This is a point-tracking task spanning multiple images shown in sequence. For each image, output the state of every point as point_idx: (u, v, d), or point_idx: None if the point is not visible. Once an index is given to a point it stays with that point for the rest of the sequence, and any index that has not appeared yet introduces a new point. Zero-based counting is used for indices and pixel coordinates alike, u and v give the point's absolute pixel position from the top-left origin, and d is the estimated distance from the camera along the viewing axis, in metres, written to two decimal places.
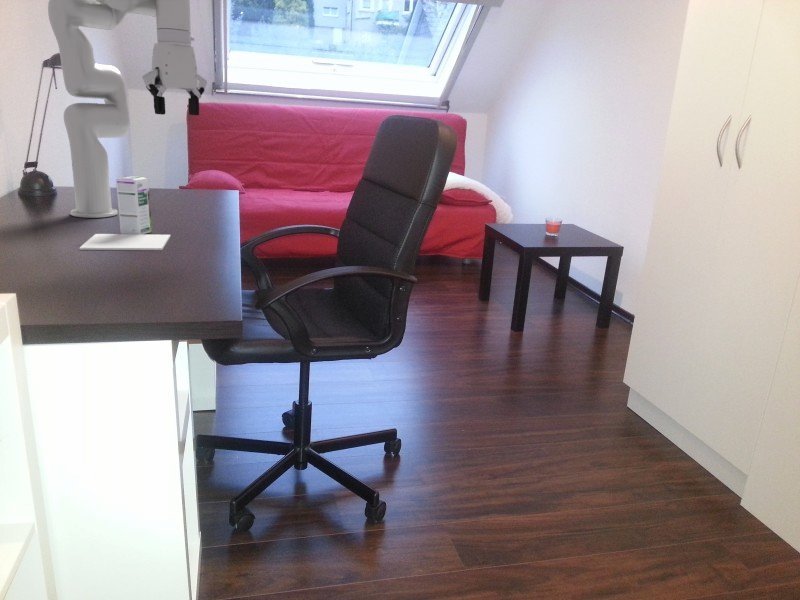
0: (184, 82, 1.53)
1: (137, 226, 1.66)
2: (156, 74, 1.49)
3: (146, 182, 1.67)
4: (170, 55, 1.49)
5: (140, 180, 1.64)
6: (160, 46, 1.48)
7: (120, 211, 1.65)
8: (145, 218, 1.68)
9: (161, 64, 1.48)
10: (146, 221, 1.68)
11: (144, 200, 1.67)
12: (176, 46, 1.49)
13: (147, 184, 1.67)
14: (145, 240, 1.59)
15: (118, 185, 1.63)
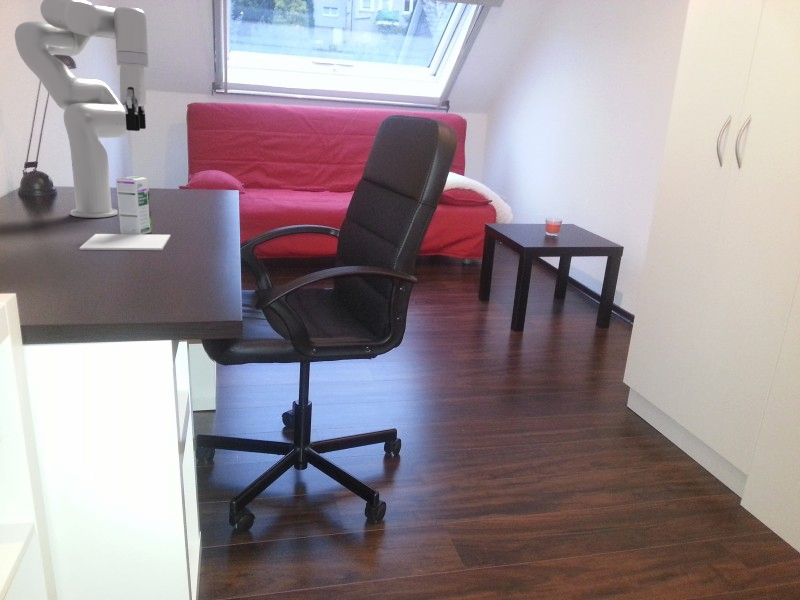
0: (144, 99, 1.69)
1: (137, 226, 1.66)
2: (133, 94, 1.63)
3: (146, 182, 1.67)
4: (141, 76, 1.64)
5: (140, 180, 1.64)
6: (132, 68, 1.62)
7: (120, 211, 1.65)
8: (145, 218, 1.68)
9: (136, 85, 1.63)
10: (146, 221, 1.68)
11: (144, 200, 1.67)
12: (142, 68, 1.65)
13: (147, 184, 1.67)
14: (145, 240, 1.59)
15: (118, 185, 1.63)
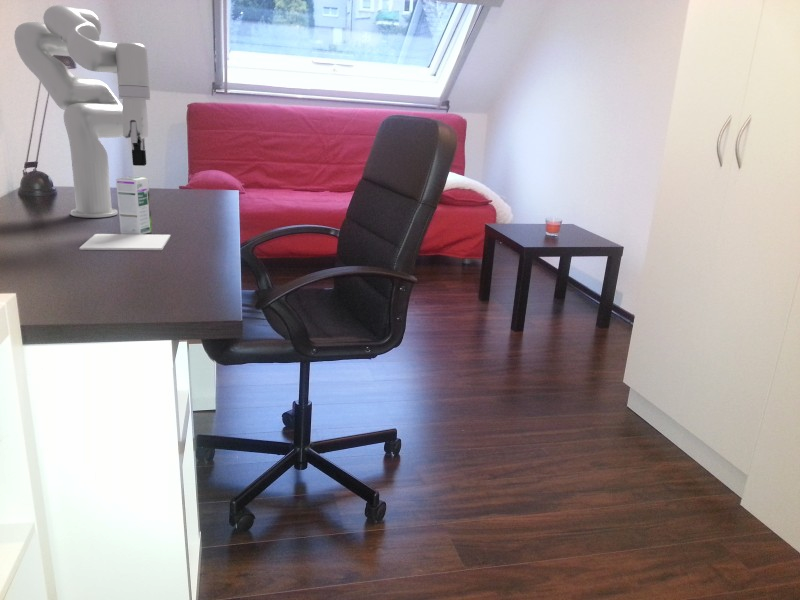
0: (146, 131, 1.72)
1: (137, 226, 1.66)
2: (137, 131, 1.67)
3: (146, 182, 1.67)
4: (143, 109, 1.67)
5: (140, 180, 1.64)
6: (134, 101, 1.64)
7: (120, 211, 1.65)
8: (145, 218, 1.68)
9: (139, 118, 1.65)
10: (146, 221, 1.68)
11: (144, 200, 1.67)
12: (144, 101, 1.68)
13: (147, 184, 1.67)
14: (145, 240, 1.59)
15: (118, 185, 1.63)
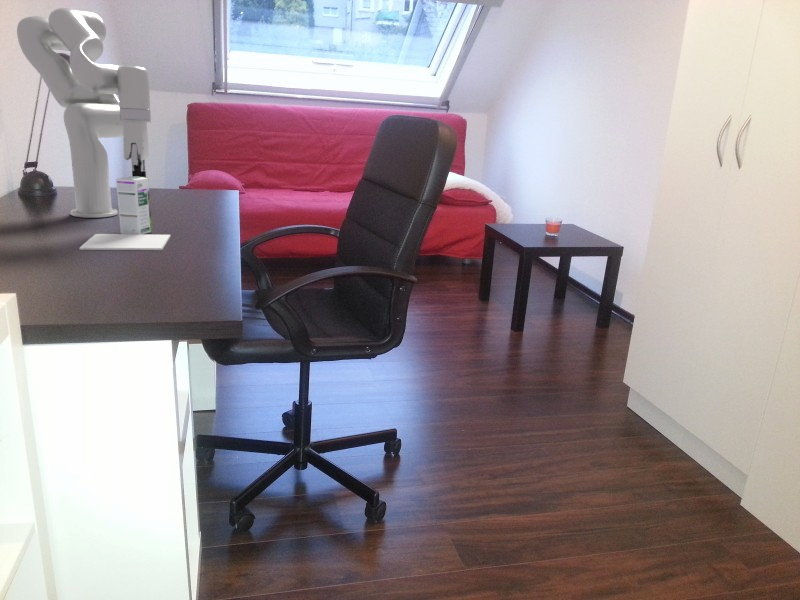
0: (146, 153, 1.73)
1: (137, 226, 1.66)
2: (137, 153, 1.69)
3: (146, 182, 1.67)
4: (143, 132, 1.69)
5: (140, 180, 1.64)
6: (135, 124, 1.66)
7: (120, 211, 1.65)
8: (145, 218, 1.68)
9: (139, 141, 1.67)
10: (146, 221, 1.68)
11: (144, 200, 1.67)
12: (145, 123, 1.69)
13: (147, 184, 1.67)
14: (145, 240, 1.59)
15: (118, 185, 1.63)
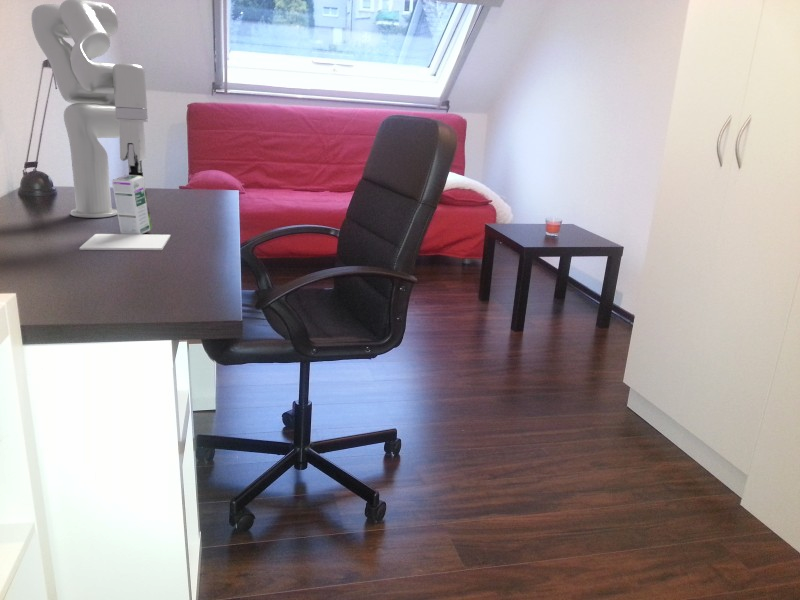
0: (144, 153, 1.68)
1: (136, 226, 1.65)
2: (134, 154, 1.64)
3: (143, 180, 1.65)
4: (140, 131, 1.63)
5: (136, 180, 1.63)
6: (132, 124, 1.61)
7: (118, 212, 1.65)
8: (144, 218, 1.67)
9: (136, 141, 1.62)
10: (145, 220, 1.68)
11: (142, 199, 1.65)
12: (141, 123, 1.64)
13: (143, 183, 1.66)
14: (145, 240, 1.59)
15: (114, 186, 1.62)
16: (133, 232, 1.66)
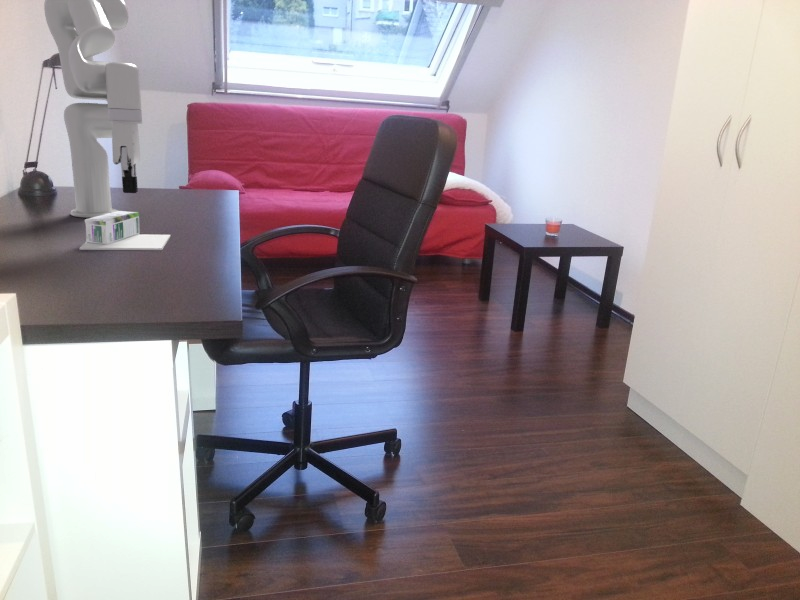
0: (138, 157, 1.60)
1: None
2: (127, 157, 1.56)
3: (108, 224, 1.52)
4: (134, 134, 1.55)
5: (107, 235, 1.53)
6: (125, 126, 1.53)
7: None
8: (131, 226, 1.62)
9: (130, 143, 1.54)
10: (132, 224, 1.62)
11: (120, 227, 1.57)
12: (135, 124, 1.56)
13: (110, 222, 1.53)
14: (145, 240, 1.59)
15: None
16: None
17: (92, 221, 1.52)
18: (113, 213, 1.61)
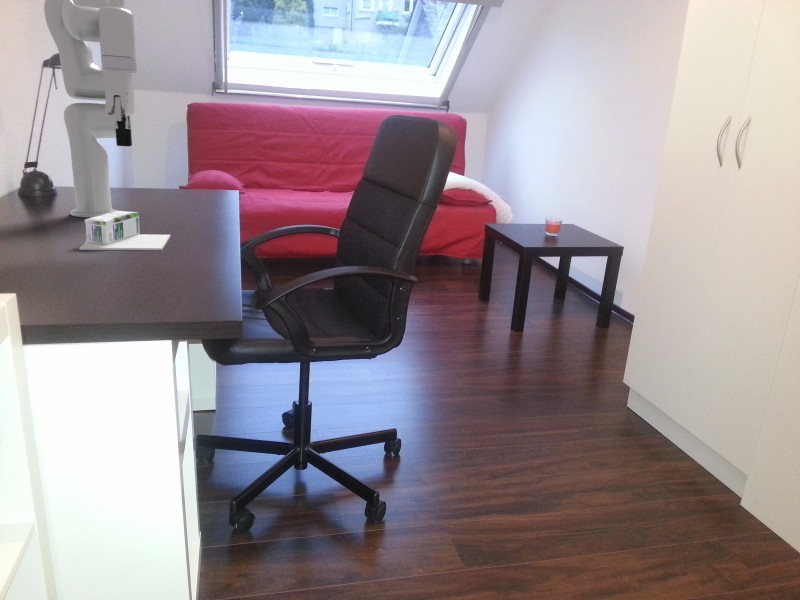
0: (132, 108, 1.54)
1: None
2: (121, 108, 1.50)
3: (108, 224, 1.52)
4: (128, 83, 1.49)
5: (107, 235, 1.53)
6: (118, 74, 1.47)
7: None
8: (131, 226, 1.62)
9: (123, 93, 1.48)
10: (132, 224, 1.62)
11: (120, 227, 1.57)
12: (129, 74, 1.50)
13: (110, 222, 1.53)
14: (145, 240, 1.59)
15: None
16: None
17: (92, 221, 1.52)
18: (113, 213, 1.61)
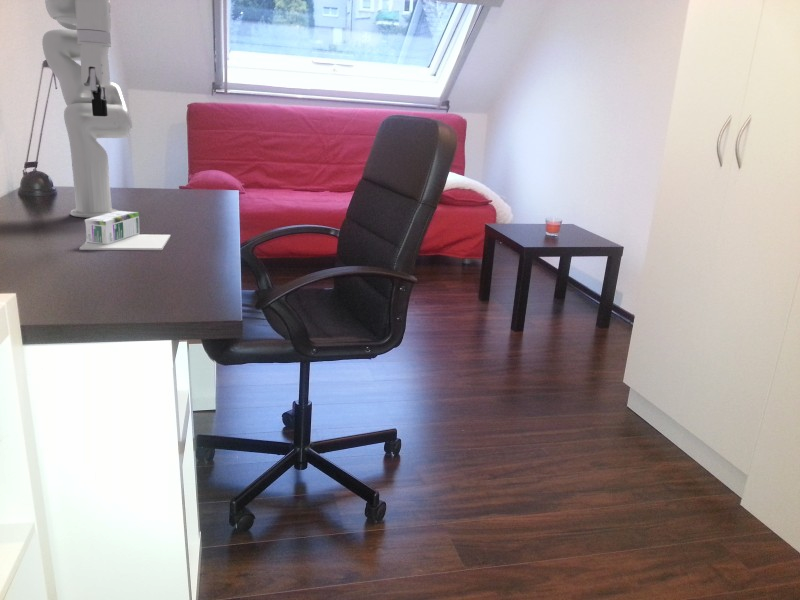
0: (107, 80, 1.64)
1: None
2: (96, 79, 1.59)
3: (108, 224, 1.52)
4: (102, 56, 1.59)
5: (107, 235, 1.53)
6: (93, 46, 1.56)
7: None
8: (131, 226, 1.62)
9: (98, 64, 1.57)
10: (132, 224, 1.62)
11: (120, 227, 1.57)
12: (104, 47, 1.60)
13: (110, 222, 1.53)
14: (145, 240, 1.59)
15: None
16: None
17: (92, 221, 1.52)
18: (113, 213, 1.61)
